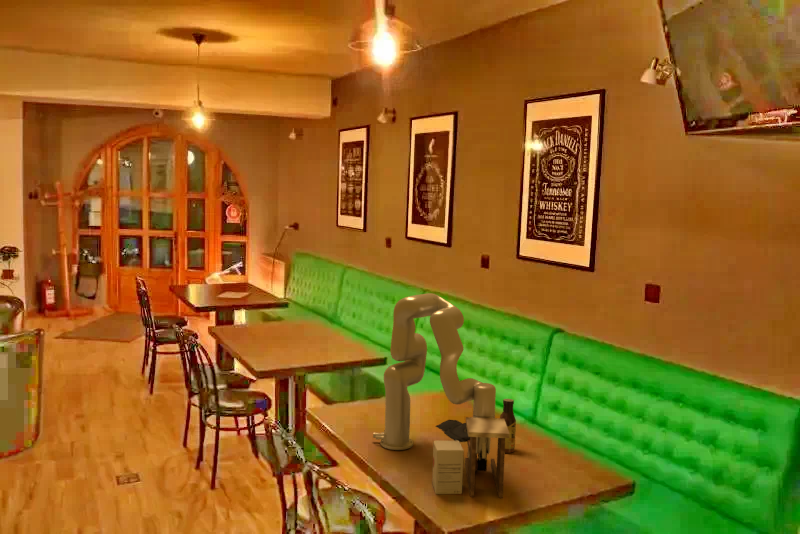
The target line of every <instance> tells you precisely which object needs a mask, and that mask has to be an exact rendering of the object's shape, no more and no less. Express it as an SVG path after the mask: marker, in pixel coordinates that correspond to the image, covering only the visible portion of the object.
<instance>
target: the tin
mask: <svg viewBox="0 0 800 534" xmlns="http://www.w3.org/2000/svg"><path fill="white" fill-rule="evenodd" d="M466 445H467V458H470V440H468V441H467V444H466ZM477 458H478V454H476V460H475V472H478V470H477Z"/></svg>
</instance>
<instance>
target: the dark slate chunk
mask: <svg viewBox="0 0 800 534" xmlns="http://www.w3.org/2000/svg"><path fill="white" fill-rule="evenodd" d="M435 427H436V428H437V429H439V430H441V431H442V432H443V433H444V434H445V436H446V437H448V438H450V439H452V441H459V442H460V443H465V442H467V441H468V440H470V437H469V436H468V431H467V426H466V422H461V421H459V420H456V419H447V420H444V421H443V422H441V423H439V424H437V425H435Z"/></svg>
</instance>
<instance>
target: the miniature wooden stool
mask: <svg viewBox="0 0 800 534" xmlns="http://www.w3.org/2000/svg"><path fill="white" fill-rule="evenodd" d="M465 423H466V426H467V431H468V436H469V437H470V458H468V457H465V459H464V465H465V472H466V478H467V485H468V492H469V496H470V498H474V497H475V486H476V485H475V482H476V480H475V479H476V477H475V476H476V471H475V460H476V437H490V438H493V439H495V438H497V451H496V452H497V454H496V455H497V456H496V460H495V458H490V468H491V472H492V476H493V477H492V478H493V479H494V484H495V488H496V493H497V496H498V498H499V499H503V497H504V478H505V476H504V475H505V473H504V472H505V458H506V457H505V454H506V453H505V438H509V437H510V433H509V431H508V428H507V425H506V422H505V420H504V419H500V417H499V418H496V417H495V418H473V416H472V417H469V416H466V417H465Z"/></svg>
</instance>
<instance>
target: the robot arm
mask: <svg viewBox="0 0 800 534" xmlns="http://www.w3.org/2000/svg"><path fill="white" fill-rule="evenodd" d="M392 315H393V316H392V317H393V324H392V332H391V339H390V341H391V342H390V348H389V349H390V357H391V358H392V359H393V360H394V361H396V362H397V363H394V364H391V365H390V366H388V367H387V368H386V369H385V371H384V373H383V384H384V391H385V411H384V414H385V415H384V430H383V431H381V432H372V438H375V440H380V446H381V447H383V448H385V449H388V450H392V451H394V450H395V451H405V450H407V449H411V448H412V447H413V446H414V440H413V439H411V438H410V430H411V427H410V425H411V396H410V393H409V390H408V387H410V386H413V385H416V384H419V383H420V382H421V381H422V380H423V378H424V376H425V369H426V364H427V363H426V362H427V354H428V344H427V341H426V339H425V338H424V336H423V335H421V334H420V333H418V332H416V322H415V319H421V318H426V317H429V325H430V327H431V330H432V333H433V336H434V339H435V342H436V344H437V346H438V347H437V348H438V350H439V352H440V357H441V359H440V363H439V379H440V382H441V386H442V389H443V391H444V394H445V397H446V398H447V400H448V401H449V402H450V403H451V404H453V405H462V404H465V403H467V402H470V401H473V405H472V408H473V409H472V417H473V418H496V396H497V391H496V390H497V389H496V387H495V385H494V384H492V383H487V382H482V381H479V380H478V379H475V378H471V377H469V378H468V377H467V378H465V379H462V380H460V379H459V375H458V372H457V371H458V370H457V368H458V367H457V365H458V361H459V359H460V357H461V356H462V353H464V349H465V348H464V345H463V342H462V340H461V337H460V334H459V331H458V330H459V329H461V328H462V327H463V325H464V323H465V319H464V315H463V312H462V311H461V310H460V309H459V308H458V307H457V306H456V305H454V304H452V303H451V302H450V301H447V300H446V299H444V298H443V297H441V296H439V295H438V294H436V293H431V292H428V293H421V294H414V295H409V296H405V297H403V298H401V299H399V300H398V301H396V303H395V305H394V308H393V314H392ZM491 440H492V439H491V438H490V437H476V454H477V472H487V466H488V465H487V464H488V459H487V458H488V457H487V456H488V455H490V452H491V451H490V450H491Z"/></svg>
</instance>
